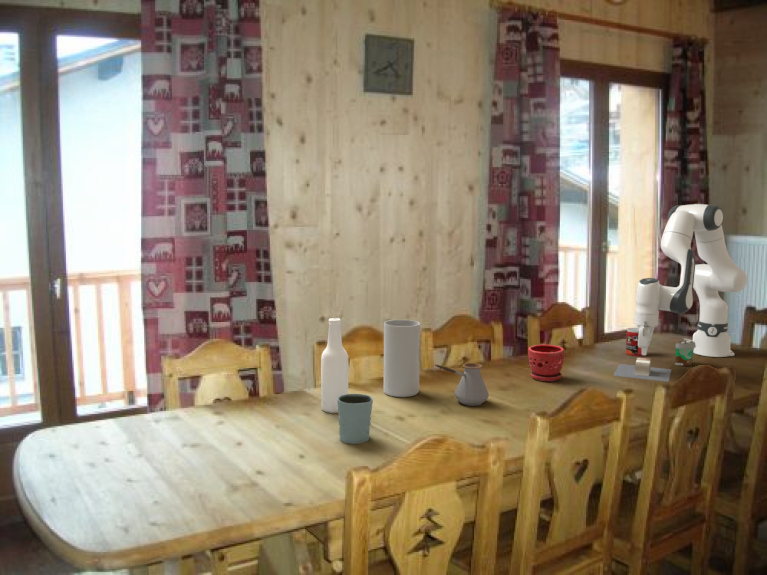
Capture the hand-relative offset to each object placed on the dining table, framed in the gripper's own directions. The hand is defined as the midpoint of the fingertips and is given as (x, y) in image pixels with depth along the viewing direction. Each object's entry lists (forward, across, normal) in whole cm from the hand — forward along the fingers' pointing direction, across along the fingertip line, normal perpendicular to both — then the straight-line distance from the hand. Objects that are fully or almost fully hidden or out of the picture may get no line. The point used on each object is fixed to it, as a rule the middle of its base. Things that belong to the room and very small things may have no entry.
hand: (644, 354), depth 284 cm
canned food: (+7, +30, +6) cm, 32 cm away
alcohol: (+7, -94, +87) cm, 129 cm away
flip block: (+4, +2, 0) cm, 5 cm away
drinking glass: (+7, -116, +69) cm, 135 cm away
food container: (+7, +20, -15) cm, 26 cm away
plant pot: (+7, -26, +33) cm, 43 cm away
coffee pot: (+7, -72, +52) cm, 89 cm away
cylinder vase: (+7, -68, +75) cm, 101 cm away
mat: (+7, -2, 0) cm, 7 cm away
